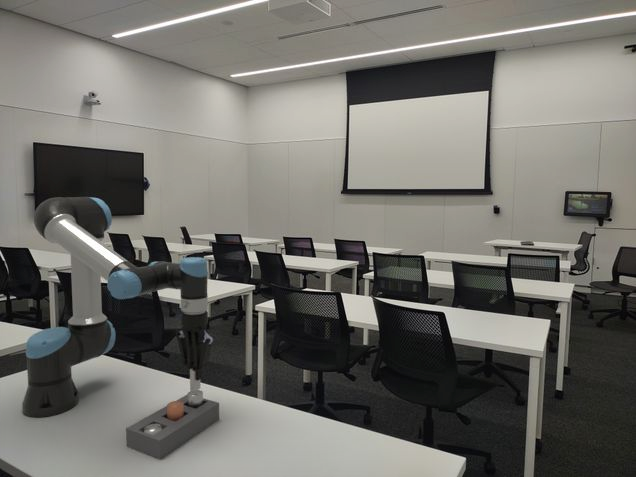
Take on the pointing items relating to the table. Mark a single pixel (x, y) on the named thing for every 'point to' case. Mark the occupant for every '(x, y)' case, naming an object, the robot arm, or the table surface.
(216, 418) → the button console
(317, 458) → the table surface
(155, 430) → the steel button near
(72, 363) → the robot arm
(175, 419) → the terracotta button
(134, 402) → the table surface
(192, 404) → the steel button far
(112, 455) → the table surface
